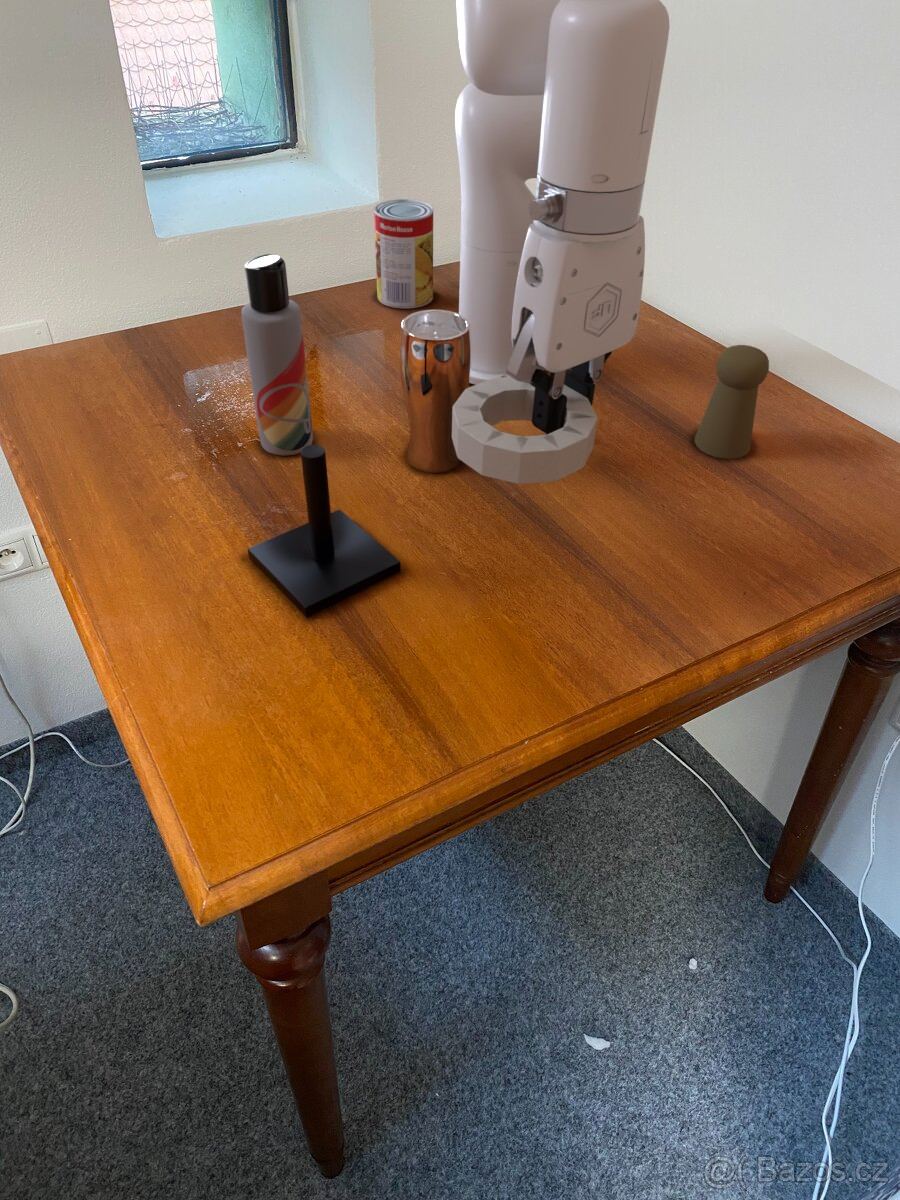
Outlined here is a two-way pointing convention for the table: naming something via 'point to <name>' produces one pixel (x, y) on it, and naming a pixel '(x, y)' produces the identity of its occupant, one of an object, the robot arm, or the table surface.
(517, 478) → the tape roll
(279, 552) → the post
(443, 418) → the beer glass
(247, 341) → the lotion bottle
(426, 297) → the canned food
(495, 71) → the robot arm
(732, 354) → the olive pawn figure
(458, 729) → the table surface
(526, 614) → the table surface
